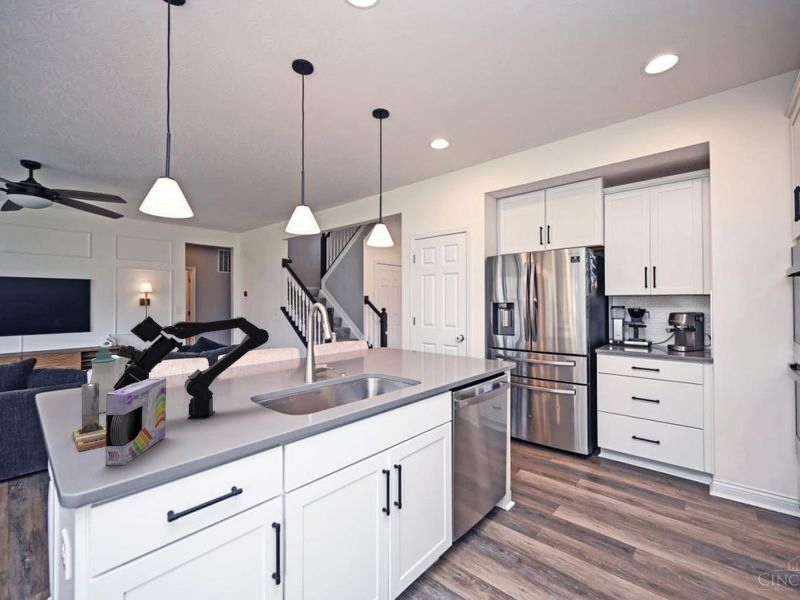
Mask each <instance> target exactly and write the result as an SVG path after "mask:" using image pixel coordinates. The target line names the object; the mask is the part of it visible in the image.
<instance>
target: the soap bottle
mask: <svg viewBox="0 0 800 600" xmlns="http://www.w3.org/2000/svg"><path fill="white" fill-rule="evenodd" d="M90 351H98V352H96V353H95V359H94V358H93V359H94V360H92V359H91V360H90V363H91V375H90V376H91V377H90V380H89V382H88V383H99V414H102V413H106V395H107V393H110V392H113V390H114V389H115V388H113V387H114V385H115V384H116V383H117V381H118V378H117V375H116V371H115V360H116V358H114V357H112V355H113V353H112V352H111V351H110V347H108V346H107V347H105V346H103V347H95V348H91V349H90Z"/></svg>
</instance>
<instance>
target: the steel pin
mask: <svg viewBox="0 0 800 600" xmlns="http://www.w3.org/2000/svg"><path fill="white" fill-rule="evenodd" d="M99 425H100V413H99V383H89V382H88V383H84V384H81V428H82V434H84V433H89V432H94V431H99Z"/></svg>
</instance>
